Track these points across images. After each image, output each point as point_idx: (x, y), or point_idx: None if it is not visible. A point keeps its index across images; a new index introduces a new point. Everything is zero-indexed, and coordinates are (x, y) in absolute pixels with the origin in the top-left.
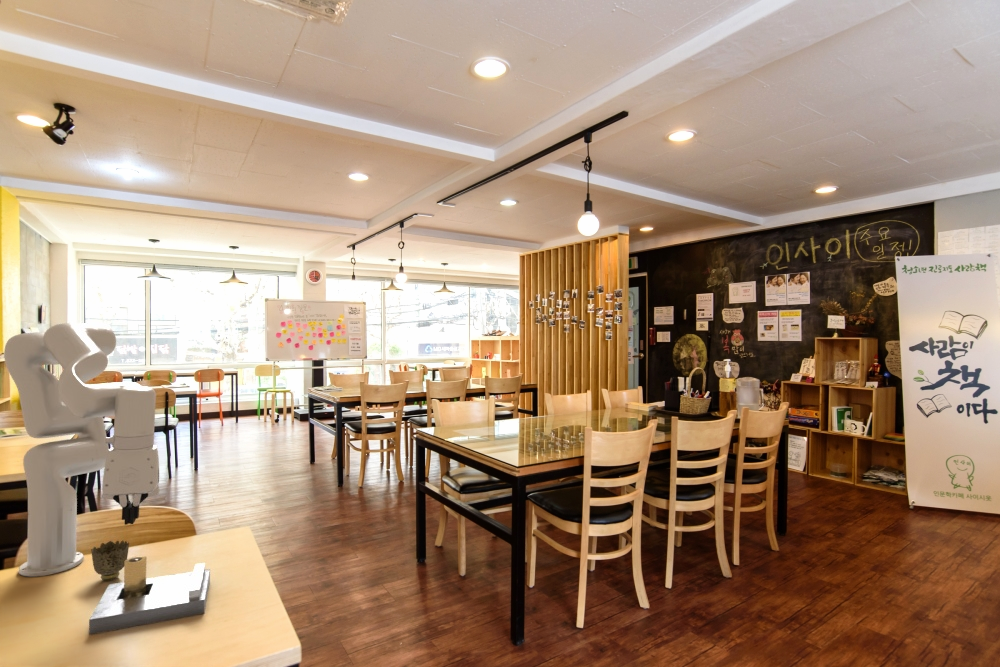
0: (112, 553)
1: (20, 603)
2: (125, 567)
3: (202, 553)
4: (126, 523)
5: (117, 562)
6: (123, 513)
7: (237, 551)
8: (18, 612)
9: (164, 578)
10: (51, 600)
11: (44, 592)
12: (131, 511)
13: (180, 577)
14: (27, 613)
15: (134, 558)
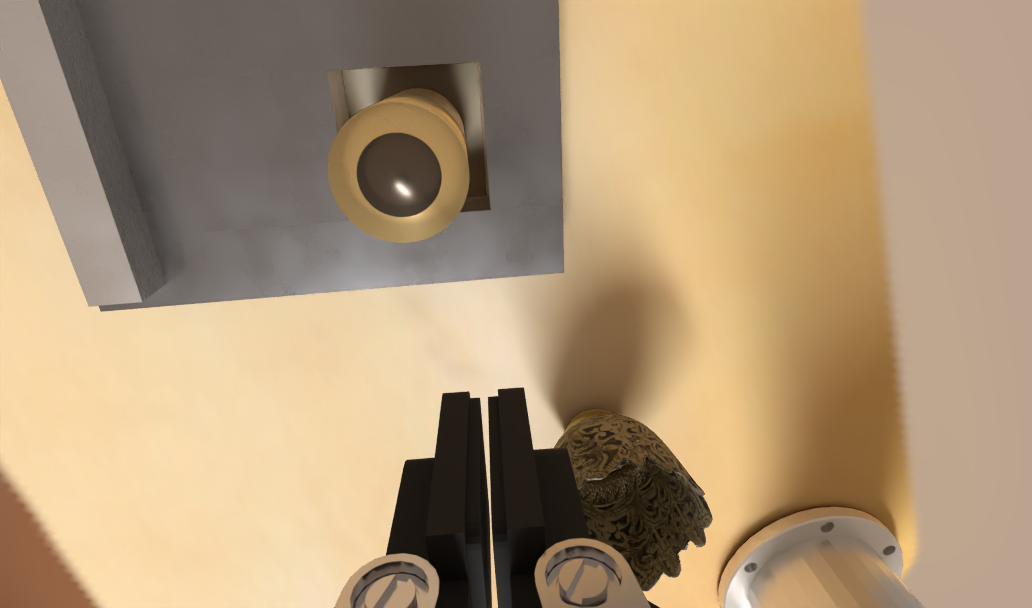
0: (605, 465)
1: (857, 308)
2: (452, 126)
3: (288, 569)
4: (505, 392)
5: (574, 444)
6: (561, 491)
7: (131, 559)
8: (854, 230)
9: (312, 260)
10: (761, 300)
11: (795, 377)
12: (455, 481)
13: (228, 247)
14: (824, 209)
15: (413, 197)
